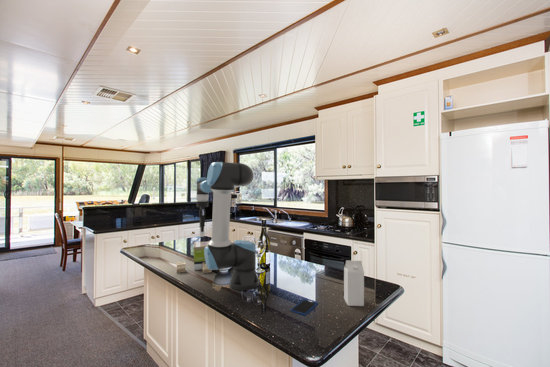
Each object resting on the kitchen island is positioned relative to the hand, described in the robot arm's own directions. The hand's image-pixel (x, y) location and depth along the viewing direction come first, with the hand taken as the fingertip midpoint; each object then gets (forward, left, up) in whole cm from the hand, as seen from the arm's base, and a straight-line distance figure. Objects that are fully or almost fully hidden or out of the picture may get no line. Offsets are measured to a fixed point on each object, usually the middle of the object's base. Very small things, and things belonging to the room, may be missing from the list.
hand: (201, 236), depth 170 cm
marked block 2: (-12, -2, -20) cm, 23 cm away
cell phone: (-76, -36, -20) cm, 87 cm away
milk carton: (-80, -59, -20) cm, 102 cm away
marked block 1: (-6, +13, -20) cm, 24 cm away
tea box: (0, 0, -20) cm, 20 cm away
